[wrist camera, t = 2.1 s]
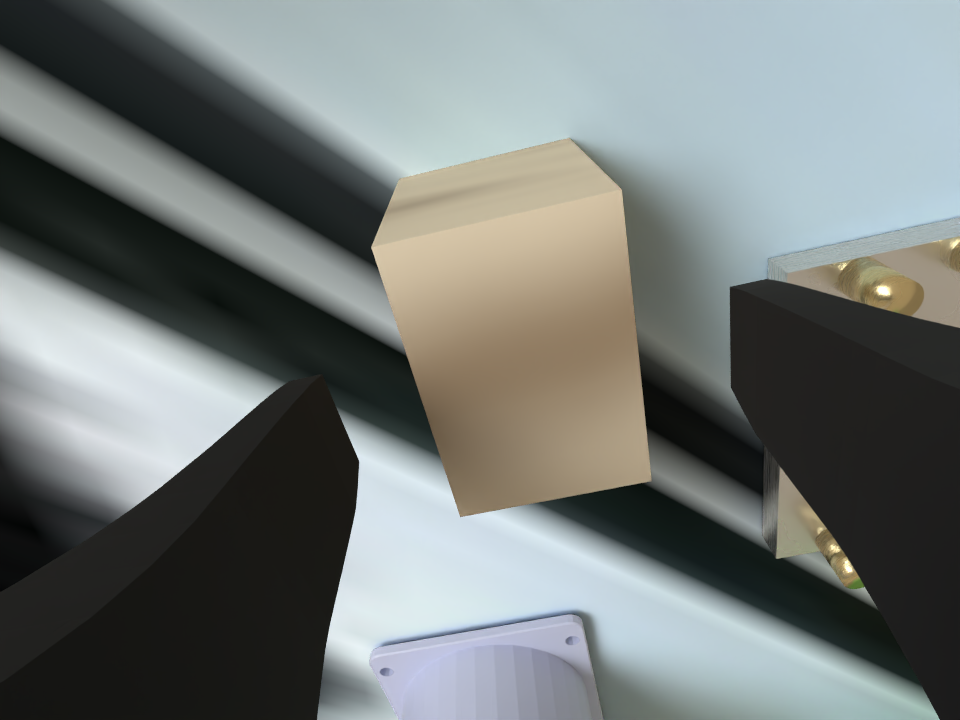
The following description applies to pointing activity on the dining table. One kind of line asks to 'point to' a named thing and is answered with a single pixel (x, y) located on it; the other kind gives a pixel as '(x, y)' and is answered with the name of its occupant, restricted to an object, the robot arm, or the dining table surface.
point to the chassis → (876, 282)
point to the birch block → (519, 324)
